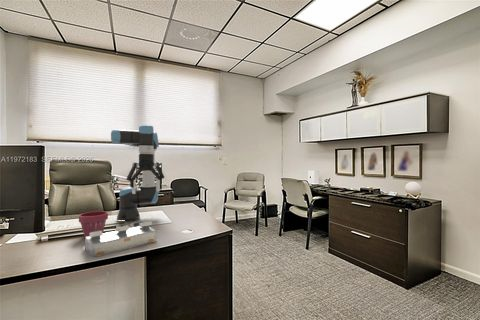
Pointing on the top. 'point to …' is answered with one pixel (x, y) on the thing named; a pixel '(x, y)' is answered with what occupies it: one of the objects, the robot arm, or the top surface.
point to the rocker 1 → (95, 233)
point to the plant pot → (93, 221)
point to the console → (119, 240)
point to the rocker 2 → (122, 228)
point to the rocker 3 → (145, 223)
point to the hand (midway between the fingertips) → (146, 192)
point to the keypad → (135, 224)
